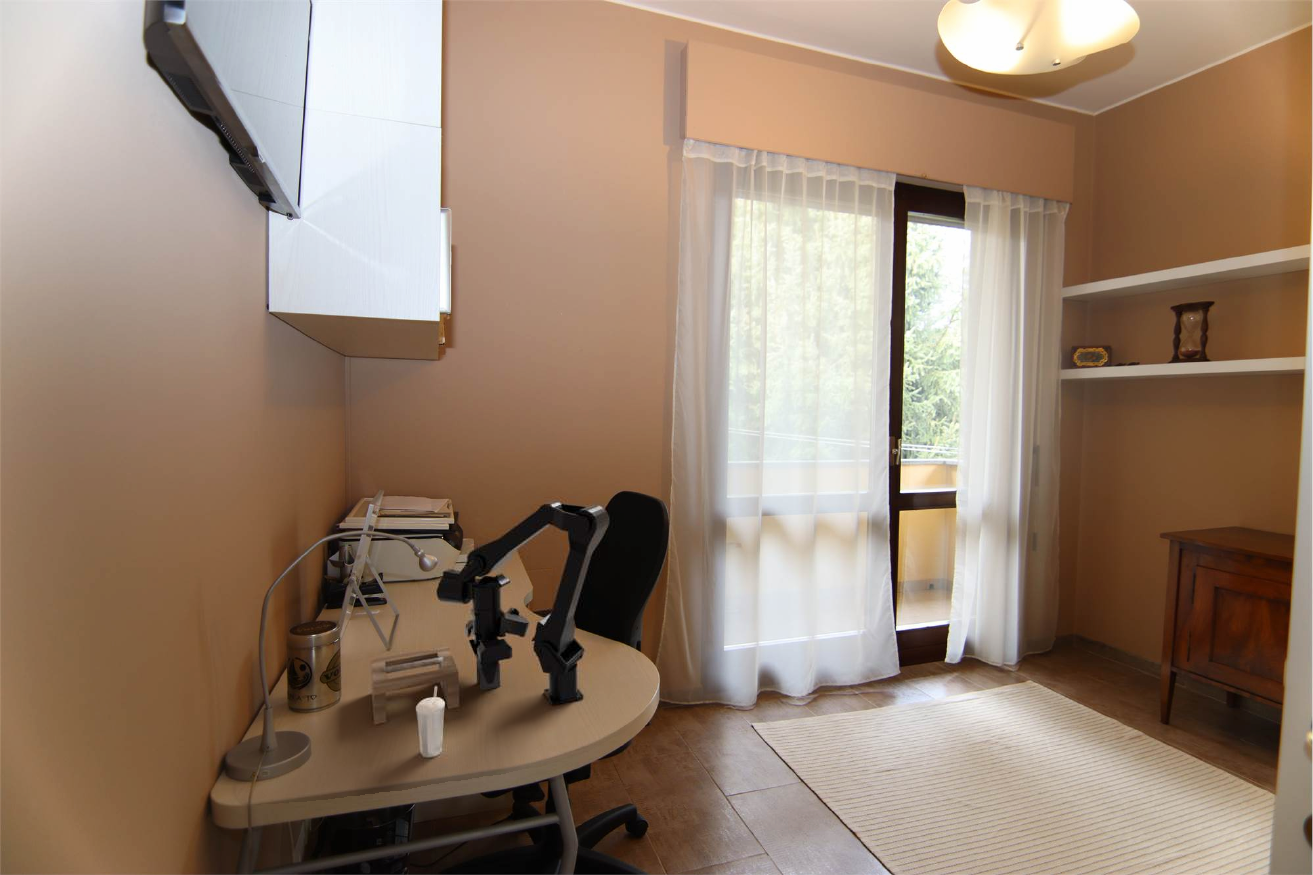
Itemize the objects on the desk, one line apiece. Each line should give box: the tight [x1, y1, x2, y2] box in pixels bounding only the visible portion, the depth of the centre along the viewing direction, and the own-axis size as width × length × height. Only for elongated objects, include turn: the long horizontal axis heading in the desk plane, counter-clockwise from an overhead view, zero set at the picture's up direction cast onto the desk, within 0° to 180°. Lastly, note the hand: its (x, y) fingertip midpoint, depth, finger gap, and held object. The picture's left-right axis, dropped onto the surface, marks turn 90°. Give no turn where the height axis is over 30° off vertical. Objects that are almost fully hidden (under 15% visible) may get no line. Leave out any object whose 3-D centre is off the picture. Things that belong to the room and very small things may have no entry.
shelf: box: [370, 645, 460, 726], centre depth 122 cm, size 14×15×8 cm
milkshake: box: [415, 685, 446, 758], centre depth 104 cm, size 5×5×10 cm
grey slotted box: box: [476, 660, 501, 691], centre depth 128 cm, size 4×4×5 cm
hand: (488, 678), depth 128 cm, fingers closed on grey slotted box, 4 cm apart
